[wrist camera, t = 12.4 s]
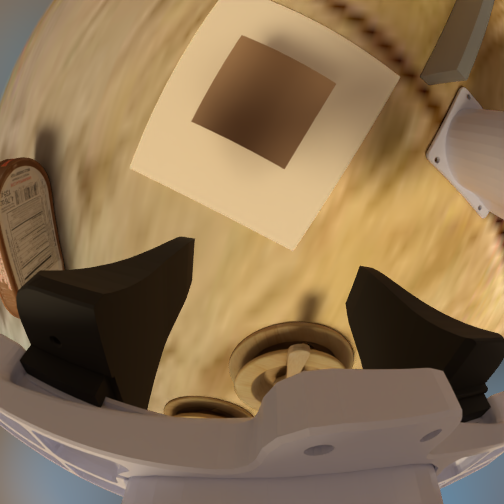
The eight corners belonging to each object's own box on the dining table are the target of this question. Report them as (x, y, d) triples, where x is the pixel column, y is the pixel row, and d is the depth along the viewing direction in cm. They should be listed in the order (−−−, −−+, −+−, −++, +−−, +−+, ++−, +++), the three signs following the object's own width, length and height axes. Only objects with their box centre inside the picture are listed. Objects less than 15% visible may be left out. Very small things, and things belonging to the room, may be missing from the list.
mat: (398, 77, 15) (400, 77, 15) (292, 249, 21) (293, 251, 21) (229, -12, 13) (229, -14, 12) (131, 167, 19) (129, 168, 19)
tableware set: (258, 273, 23) (255, 318, 18) (388, 361, 28) (403, 399, 23) (135, 403, 34) (123, 433, 29) (240, 447, 39) (238, 476, 33)
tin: (32, 151, 18) (-33, 173, 11) (53, 147, 18) (-17, 168, 11) (57, 288, 25) (14, 334, 17) (77, 292, 25) (34, 343, 17)
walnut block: (314, 96, 16) (336, 83, 11) (278, 156, 18) (284, 169, 13) (249, 62, 15) (241, 35, 10) (213, 123, 17) (191, 121, 12)
